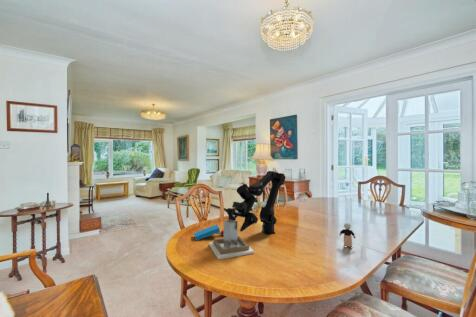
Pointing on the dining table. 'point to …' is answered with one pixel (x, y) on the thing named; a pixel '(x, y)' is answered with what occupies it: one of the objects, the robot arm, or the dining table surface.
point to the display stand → (225, 252)
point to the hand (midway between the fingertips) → (234, 229)
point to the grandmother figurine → (347, 235)
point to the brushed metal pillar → (230, 233)
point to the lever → (208, 232)
